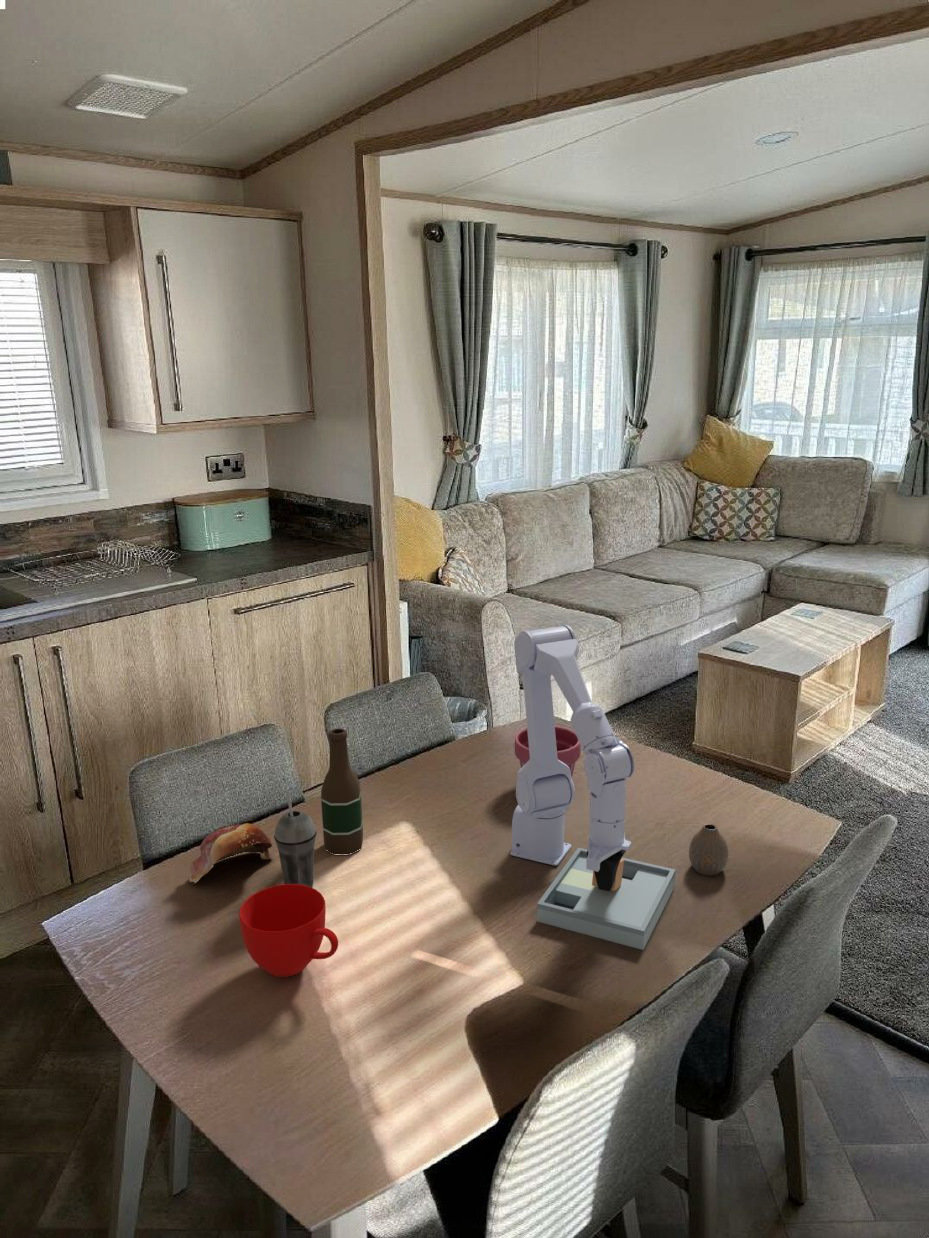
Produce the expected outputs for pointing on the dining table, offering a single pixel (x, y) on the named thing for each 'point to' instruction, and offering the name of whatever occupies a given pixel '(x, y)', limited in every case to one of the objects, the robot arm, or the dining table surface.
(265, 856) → the brown arched piece
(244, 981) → the dining table surface
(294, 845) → the beverage cup
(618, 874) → the block
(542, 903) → the box
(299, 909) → the ceramic cup
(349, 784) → the beer bottle
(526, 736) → the plant pot
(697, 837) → the vase
